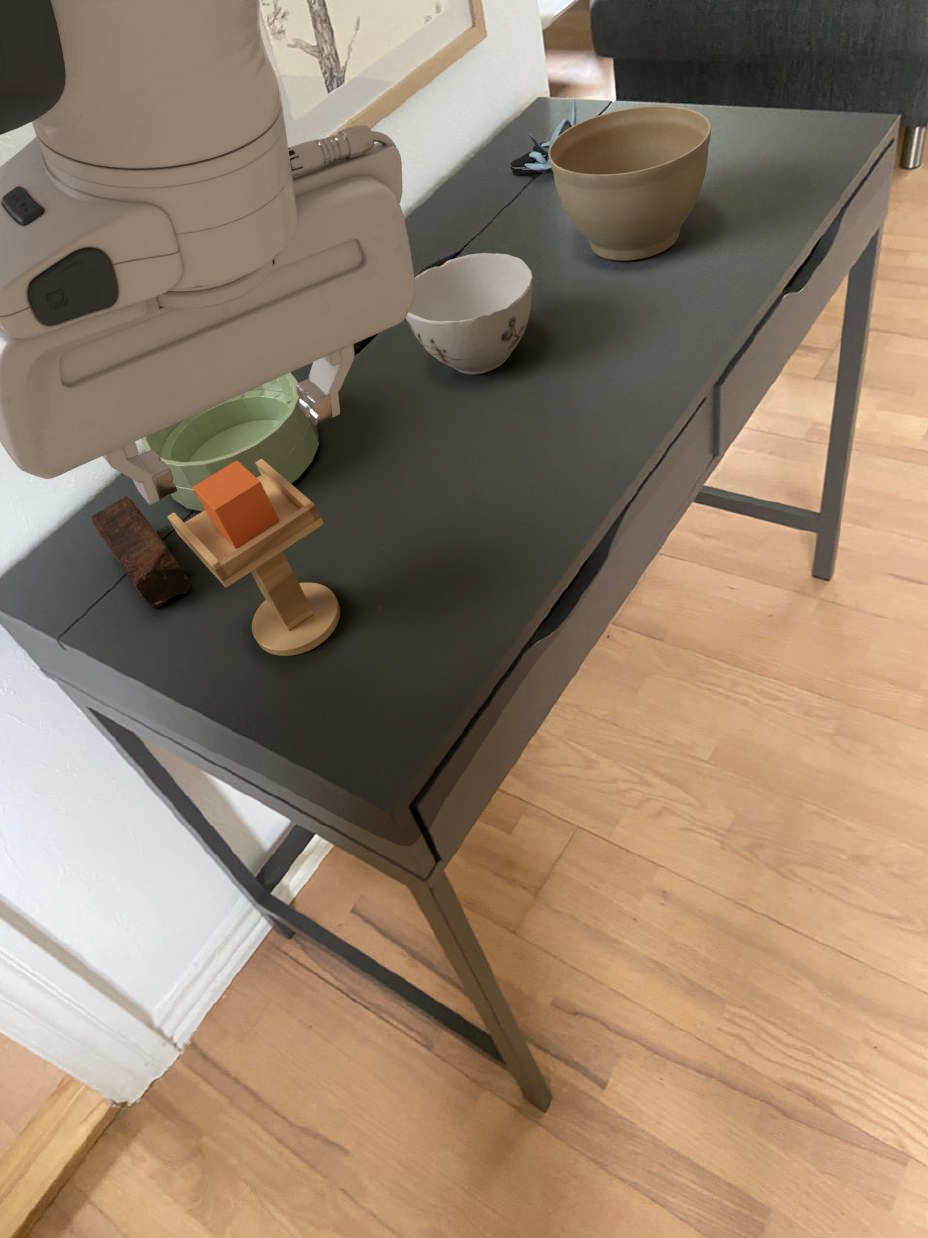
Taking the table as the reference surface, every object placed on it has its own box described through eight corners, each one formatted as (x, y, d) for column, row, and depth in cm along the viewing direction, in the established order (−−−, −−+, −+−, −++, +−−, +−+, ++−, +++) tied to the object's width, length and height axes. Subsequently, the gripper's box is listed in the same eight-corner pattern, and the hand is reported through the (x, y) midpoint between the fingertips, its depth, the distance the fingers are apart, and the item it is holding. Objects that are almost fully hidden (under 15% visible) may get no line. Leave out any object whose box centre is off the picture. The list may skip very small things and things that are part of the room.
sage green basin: (140, 502, 87) (109, 452, 83) (230, 406, 95) (206, 356, 91) (263, 528, 80) (236, 476, 76) (348, 423, 88) (329, 370, 84)
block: (279, 520, 64) (260, 481, 61) (235, 549, 62) (214, 510, 60) (256, 498, 66) (236, 459, 63) (213, 525, 65) (191, 487, 62)
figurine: (587, 194, 112) (567, 136, 106) (510, 194, 119) (487, 140, 113) (623, 143, 115) (605, 83, 109) (546, 146, 122) (525, 90, 116)
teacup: (570, 338, 90) (559, 262, 84) (488, 409, 85) (471, 334, 79) (458, 307, 98) (441, 236, 93) (378, 370, 93) (355, 299, 88)
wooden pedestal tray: (365, 618, 70) (315, 504, 62) (279, 679, 68) (215, 569, 60) (314, 569, 75) (261, 457, 67) (232, 624, 73) (166, 516, 65)
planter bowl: (725, 261, 93) (725, 152, 85) (567, 291, 96) (553, 188, 88) (698, 192, 104) (696, 90, 96) (557, 221, 107) (543, 124, 99)
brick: (113, 553, 83) (86, 516, 79) (152, 531, 84) (127, 492, 80) (154, 616, 76) (127, 577, 72) (196, 590, 77) (171, 551, 73)
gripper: (356, 85, 41) (375, 344, 52) (-114, 235, 33) (26, 501, 44) (441, 141, 38) (442, 403, 49) (-53, 320, 30) (81, 582, 41)
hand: (242, 451), depth 47 cm, fingers open, 8 cm apart
